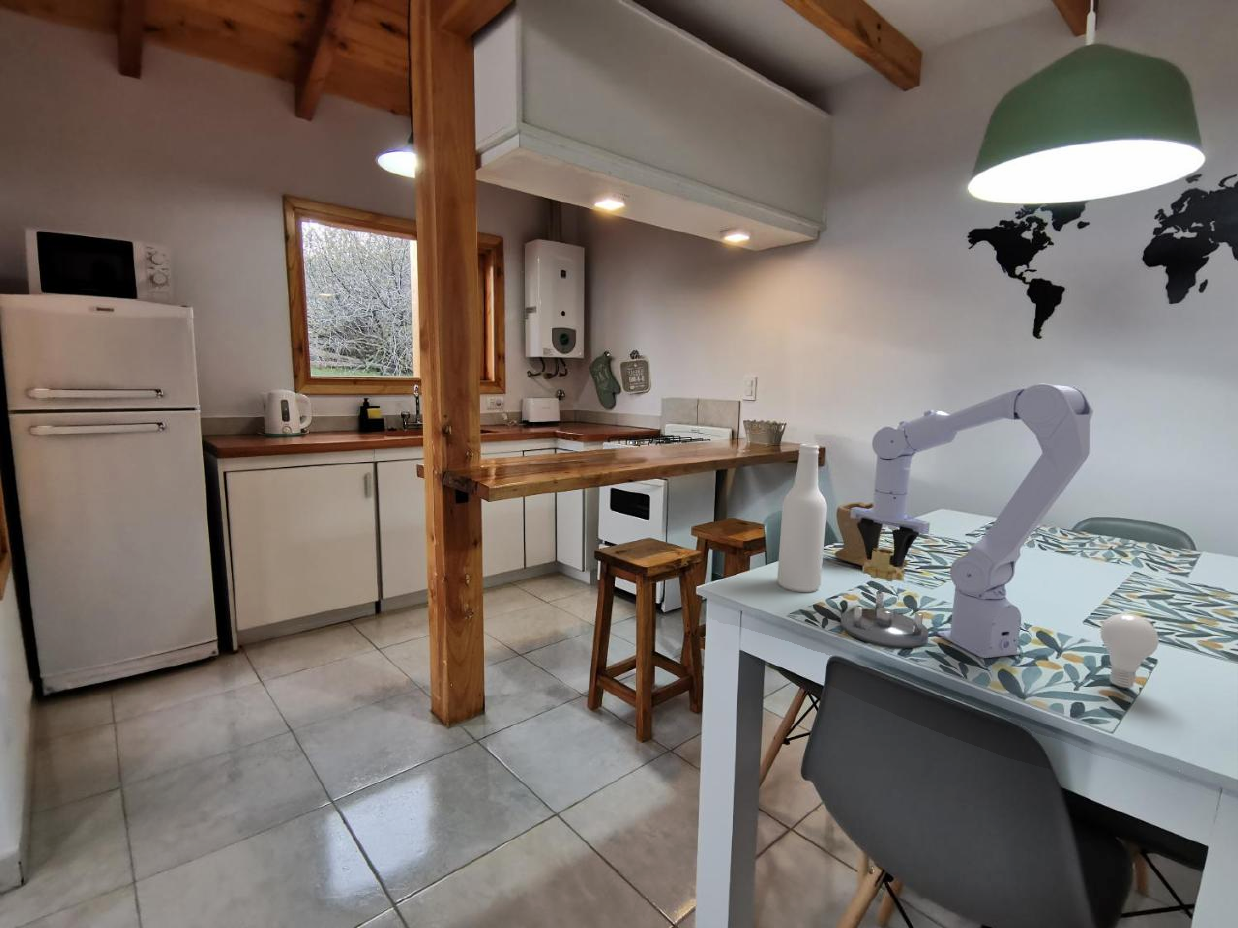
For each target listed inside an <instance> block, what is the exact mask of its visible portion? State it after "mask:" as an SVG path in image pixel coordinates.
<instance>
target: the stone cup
mask: <svg viewBox="0 0 1238 928" xmlns="http://www.w3.org/2000/svg"><path fill="white" fill-rule="evenodd" d="M855 507H859V508H865V509H872V510H873V502H868V503H864V502H860V501H855V502H847V503H844V504H840V505H839V506H838V507H837V509H836V514H835V515H836V516H835V517H836V522H837V525H838V530H839V532H840V536H841V538H842V543H843V547H842V548H841V549H839V550H836V551H835V552H834V557H836V558H838V559H840V560H842V561H845V562H848V563H851V564H855V565H858V566H861V567H863V566H864V563H866V562H867V563H871V560H872V559H871V560H868V559H867V556H866V550H865V546H864V542H863V539H862V536H861V533H860V531H859V529H858V528H857V523H858V522H860V521H861V519H859V518H851V508H855ZM883 526H884V524H883V525H882V528H881V531H880V535H879V540H878V548H880V539H881V536H882V531H883ZM908 565H909V561H907V560H906V559H905V560H904V562H903V566H900V567H897V568H899V569H904V568H906V567H907V566H908Z"/></svg>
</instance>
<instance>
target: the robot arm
mask: <svg viewBox="0 0 1238 928" xmlns="http://www.w3.org/2000/svg"><path fill="white" fill-rule="evenodd" d="M1088 400H1089V399H1088V398H1087V396H1086V395H1085V393H1084V392H1083V390H1081V389H1079V387H1076V386H1073V385H1070V384H1059V385H1055V384H1049V383H1037V384H1033V385H1030V386H1029V387H1027V388H1018V389H1013V390H1010V391H1007V392H1004V393H1000V394H999V395H996V396H994V397H992V398H991V397H990V398H989V399H986V400H984V401H982V402H979V403H976V404H973V405H971V406H968V407H966V408H963V409H960V410H958V411H955V412H953V413H951V414H949V413H947V412H945V411H942V410H937V411H935V410H934V409H930V410H926V411H924V412H923V414H924V416H921V417H917V418H914V419H912V420H909V421H908V420H902V421H900V422H899V425H898V427H897V426H896V427H894V426H883V427H882V428H881V429H879V430H878V431H876V433H875V434H874V436H873V437H872V442H871V446H872V450H873V451H874V453H875V454H876V455H877V457H876V467H875V479H874V490H873V491H874V492H873V502H872V503H873V510H872V509H865V508H859V507H855V508H851V518H859V519H861V521H860V522H858V523H857V528H858V529H859V531H860V533H861V536H862V539H863V542H864V546H865V550H866V556H867V559H868V560H871V559H872V552H873V549H874V548H878V540H879V535H880V531H881V528H882V529H883V527H882V525H883V526H884V525H885V526H889V527H890V526H891V527H894V528H897V529H893V530H892V532H891V533H892V538H893V539H892V540H893V550H894V555H893V567H900V566H903V562H904V560H906V556H907V555H908V552H909V550H910V548H911V546H912V545H913V543H914V542H915V541H916V539H918V538H917V537H918V536H919V535H920V534H922V535H926V534H928V533H930V524H931V522H929V521H926V520H921V519H918V518H914V517H911V516H909V515H907V507H908V506H907V505H908V498H909V497H908V495H909V485H910V484H909V483H910V476H911V475H910V474H911V464H912V460H913V459H912V458H913V457H914V455H915V454H917V453H920V452H924V451H926V450H929V449H933V448H936V447H939V446H942V445H946V444H949V443H951V442H953V441H954V439H955V438H956V436H957V434H958V433H959V432H962V431H965V430H968V429H971V428H975V427H979V426H982V425H986V424H989V423H993V422H996V421H999V420H1003V419H1007V420H1012V421H1013V420H1020V421H1021V422H1022V423H1023V424H1024V425H1025V426H1026V427H1027V428H1028V429H1029V430H1030V431H1031V432H1032V433H1033V434H1034V435H1035V437H1036V440H1037V442H1038V444H1039V448H1040V449H1041V452H1042V453H1041V455H1040V456H1039V458H1038V459H1037V460H1036V462H1035V463H1034V465H1033V466H1032V468H1031V469H1030V470H1029V472H1028V473H1027V475H1026V476H1025V478H1024V479H1023V481H1021V483H1020V484H1019V486H1018V488H1017V489H1016V490H1015V492H1014V493H1013V495H1012V497H1010V499H1009V501H1008V502H1007V503H1006V505H1005V506H1004V508H1003V509H1002V511H1001V512H1000V513H999V515H998V516H997V518H996V519H995V521H994V522H993V524H992V525H991V527H990V528H989V529H988V531H987V532H986V533H985V535H984V536H983V537H981V539H979V540H978V541H977V542H976V543H974V544H973V545H972V546H971V548H970V549H969V550H968V552H967V553H965V554H964V555H962V556H960V557H958V558H956V559H955V560H953V562H952V564H951V566H950V569H949V575H950V579H951V581H952V583H953V585H954V586H955V587H954V594H953V595H954V596H953V603H952V612H951V613H952V614H951V622H950V629H949V630H940V631H937V635H938V636H940V637H942V638H944V639H946V640H947V641H949V642H952V643H953V644H955V645H957V646H959V647H961V648H962V649H964V650H966V651H968V652H970V653H972V654H974V655H975V656H977V657H979V658H980V659H989V658H997V657H1005V656H1016V655H1020V654H1021V653H1022V651H1021V650H1020V649H1019V648H1018V647H1019V641H1020V640H1019V639H1020V631H1021V624H1022V614H1021V611H1020V609H1019V608H1018V607H1017V606H1015V605H1014V604H1012V603H1011V602H1010V601H1009V600H1008V598H1007V597H1006V596H1007V591H1006V590H1007V589H1006V584H1008V583H1010V582H1011V580H1012V579H1013V578H1014V575H1015V570H1016V569H1015V568H1016V564H1017V562H1018V560H1019V559H1020V557H1021V549H1022V547H1023V546H1024V544H1026V541H1028V539H1029V538H1030V537H1031V535H1032V534H1033V532H1034V531H1035V530H1036V528H1037V527H1038V526H1039V525H1040V523H1041V521H1043V519H1044V517H1045V516H1046V515H1047V513H1048V512H1049V511H1050V509H1051V508H1052V506H1053V505H1054V504H1055V503H1056V501H1057V499H1059V497H1060V496H1061V494H1062V493H1063V492H1064V490H1066V488H1067V486H1068V485H1069V484H1070V483H1071V481H1072V479H1073V478H1074V477H1075V475H1076V474H1077V473H1078V472H1079V470H1080V469H1081V467H1082V466H1083V465H1084V464H1085V462H1086V461H1087V459H1088V457H1089V455H1090V449H1091V448H1090V447H1091V445H1090V444H1091V442H1090V441H1091V438H1090V437H1091V419H1092V416H1093V414H1094V413H1093V412H1094V411H1093V407H1092V406H1091V404H1090V402H1089V401H1088ZM879 541H880V540H879Z"/></svg>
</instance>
